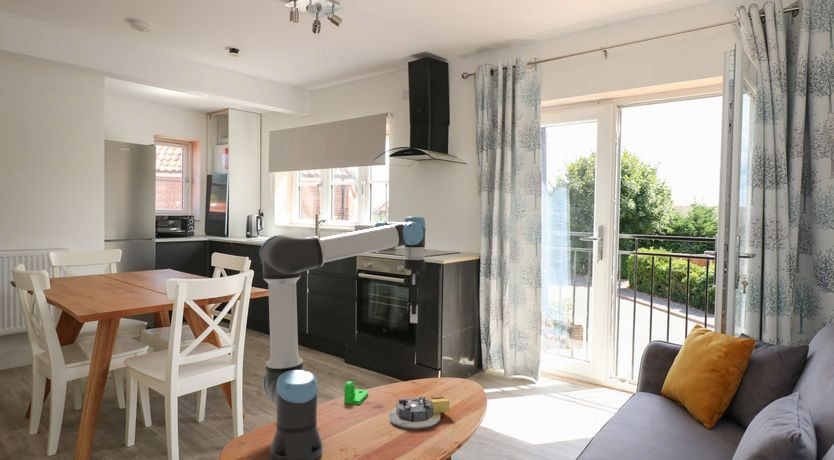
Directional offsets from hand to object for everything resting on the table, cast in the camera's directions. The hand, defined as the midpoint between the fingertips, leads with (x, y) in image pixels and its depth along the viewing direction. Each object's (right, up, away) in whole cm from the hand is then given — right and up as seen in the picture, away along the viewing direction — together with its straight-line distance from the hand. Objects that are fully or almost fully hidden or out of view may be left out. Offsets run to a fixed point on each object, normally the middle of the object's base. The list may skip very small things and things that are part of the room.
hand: (413, 322), depth 178 cm
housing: (+2, -33, -7) cm, 33 cm away
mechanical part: (-22, -32, +10) cm, 41 cm away
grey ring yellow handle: (+3, -31, -7) cm, 32 cm away
